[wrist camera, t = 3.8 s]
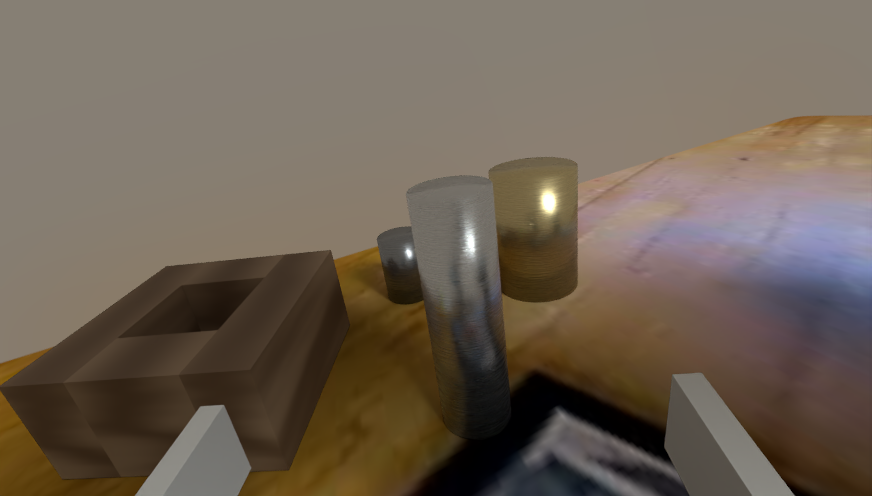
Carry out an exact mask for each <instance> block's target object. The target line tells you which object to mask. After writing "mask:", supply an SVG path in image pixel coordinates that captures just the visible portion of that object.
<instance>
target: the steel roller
mask: <svg viewBox="0 0 872 496" xmlns="http://www.w3.org/2000/svg"><path fill="white" fill-rule="evenodd" d="M406 197H407V203H408V209H409V215H410V221H411V227H412V233H413V239H414V245H415V251H416V257H417V263H418V269H419V275H420V281H421V287H422V293H423V299H424V305H425V311H426V317H427V323H428V329H429V335H430V341H431V347H432V353H433V359H434V365H435V371H436V377H437V383H438V389H439V395H440V401H441V407H442V413H443V418H444V422H445V424H446V426H447V427H448V429H449V430H450V431H451V432H452V433H454V434H455V435H457V436H459V437H462V438H465V439H471V440H480V439H486V438H490V437H492V436H495V435H497V434H498V433H500V432H501V431H502V430H503V429H504V428H505V427H506V426H507V425H508V423H509V421H510V418H511V403H510V390H509V378H508V366H507V354H506V341H505V329H504V317H503V305H502V293H501V280H500V268H499V256H498V244H497V231H496V219H495V207H494V195H493V183H492V181H491V180H489V179H487V178H484V177H479V176H451V177H443V178H438V179H433V180H430V181H426V182H423V183H420V184H418V185H415V186H413V187H412V188H410V189H409V190H408V191H407V193H406Z"/></svg>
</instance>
